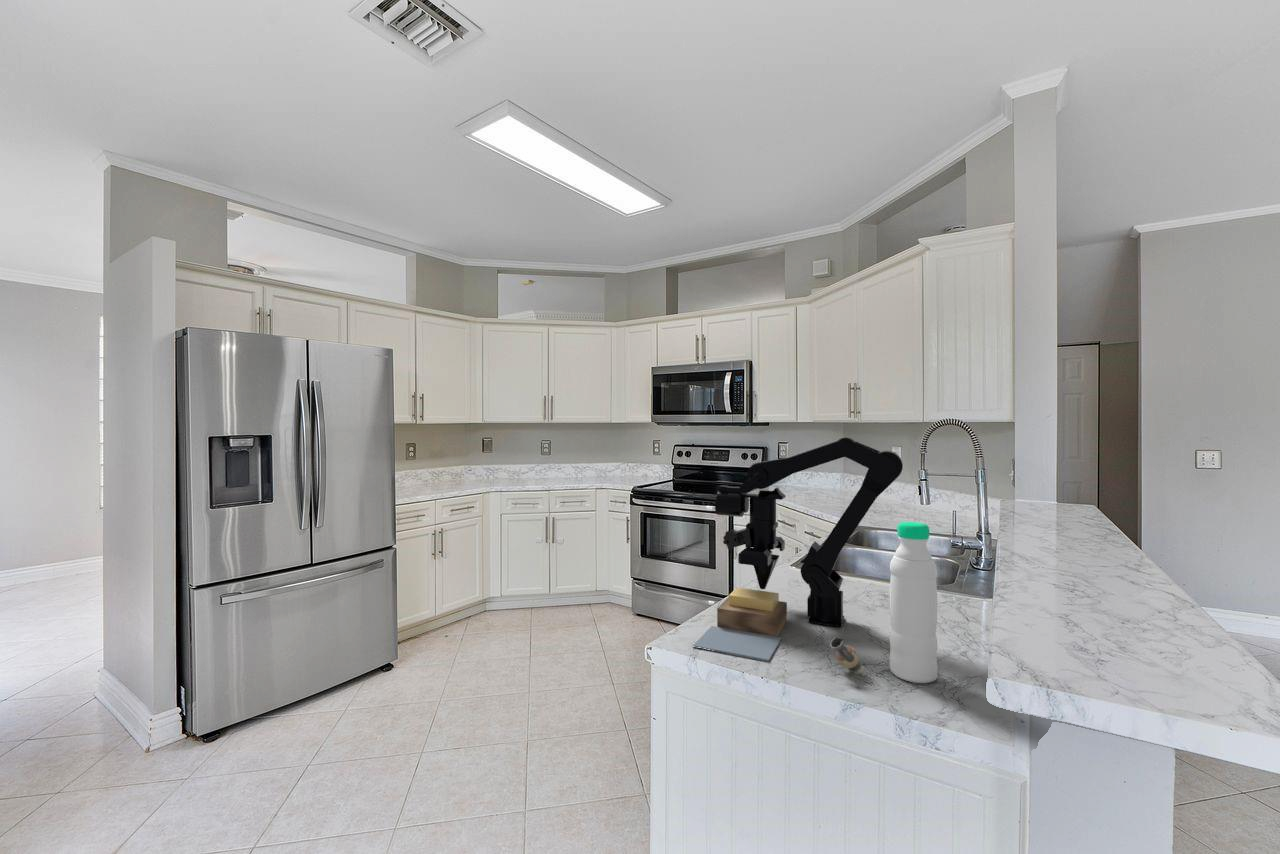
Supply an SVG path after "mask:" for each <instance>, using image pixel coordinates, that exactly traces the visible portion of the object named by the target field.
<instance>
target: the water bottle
mask: <svg viewBox="0 0 1280 854" xmlns="http://www.w3.org/2000/svg"><path fill="white" fill-rule="evenodd" d="M896 529H897V536H898V539H899V541H900V544H899V546H898V547H897V548H896V550H895V552H894V554H893V556H892V559H891V560H890V563H889V570H890V571H889V572H890V580H889V581H890V582H889V616H890V629H889V630H890V631H889V645H890V651H889V669H890V671H891V673H893V675H894V676H896V677H897V678H899V679H901V680H903V681H906V682H911V683H915V684H928V683H932V682H934V681H936V679H937V678H938V661H937V651H938V638H937V634H936V633H937V627H938V625H937V624H938V588H937V587H938V586H937V577H938V567H937V565H936V563H935V560H934V559H933V557H932V554H931V552H930V550H929V548H928V547H927V543H928V542H929V538H930V527H929V526H928V525H927V524H925V523H922V522H921V523H920V522H917V521H916V522H915V521H914V522H913V521H902V522H900V523H898V525H897V528H896Z"/></svg>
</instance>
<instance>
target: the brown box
mask: <svg viewBox="0 0 1280 854" xmlns="http://www.w3.org/2000/svg"><path fill="white" fill-rule="evenodd" d="M787 604H788V602H787V601H780V600H779V603H778V604H777V606H776V607H775V608H774V610H773V611H767V610H760V609H753V608H746V607H740V606H733V605H729V596H728V597H727V598H726V599H725V600H724V601H723V602H722V603H721V604H719V606H718V607H717V608H716V610H717V612H716V620H717V621H716V622H717V625H716V627H721V628H727V629H733V630H739V631H745V632H751V633H757V634H763V635H769V636H775V637H779V635H780V633H781V632H782V630H783V629H784V627H785V625H786V623H787V621H788V605H787Z"/></svg>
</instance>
